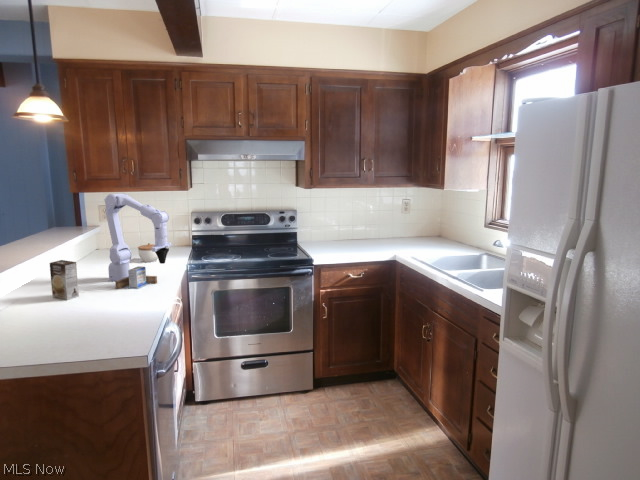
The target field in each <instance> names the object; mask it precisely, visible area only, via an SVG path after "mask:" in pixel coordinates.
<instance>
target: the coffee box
mask: <svg viewBox="0 0 640 480" xmlns="http://www.w3.org/2000/svg"><path fill="white" fill-rule="evenodd" d="M49 271H50V284H51V293H52V294H51V295H52V296H51V297H52V298H53V299H58V300H65V301H70V300H72V299H76V298H78V297H80V295H79V285H78V284H79V283H78V282H79V281H78V269H77V261H71V260H64V259H60V260H57V261H51V262H49Z"/></svg>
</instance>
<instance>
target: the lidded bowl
mask: <svg viewBox="0 0 640 480" xmlns="http://www.w3.org/2000/svg"><path fill="white" fill-rule="evenodd" d="M154 246H155V244H151V243H150V242H149V243H147V244H142V245H139V246H137V250H138V256H139V257H140V260H142V261H143V262H144V263H153V262H154V261H155V262H157V260H159V259H158V256H157V254H156V253H155V252H152V247H154Z"/></svg>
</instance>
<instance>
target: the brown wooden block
mask: <svg viewBox="0 0 640 480" xmlns="http://www.w3.org/2000/svg"><path fill="white" fill-rule="evenodd" d="M146 283H150V284H151V285H153V284H154V285H157V284H158V276H157V275H146ZM128 286H129V276H128V277H126V278H123V279H121V280H119V281H115V289H116V290H120V289H122V288H124V287H128Z"/></svg>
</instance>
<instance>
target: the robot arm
mask: <svg viewBox="0 0 640 480" xmlns="http://www.w3.org/2000/svg"><path fill="white" fill-rule="evenodd" d="M104 204H105V208H104V211H105V212H104V213H105V217H106V221H107V225H108V229H109V230H108V231H109V234H110V238H111V243H112V245H111V247H110V248H109V260H110V263H109V264H108V281H112V282H116V281H119V280H121V279H123V278H126V277H128V276H129V274H128V270H130V262H131V259H132V257H133V252H132V251H131V249H130V246H129V245H128V244H127V243H125V240H124V235H123V230H122V225H121V221H120V217H119V212H120V210H121V209H123V208H124V207H126V206H128V207H131V208H132V209H134V210H137V211H139V212H140V215H142V216H144V217H145V218H147V219H149V220H150V221H151V222H152V224H153V227H154V245H155V246H154V247H152V252H155V253H156V254H157V256H158V259H157V260H158V263H159V264H162V265H163V264H164V265H165V263H166V260H167V255H168V253H169V250H170V247H171V246H172V243H171V242H169V241H168V228H167V227H168V225H167V224H168V221H169V220H170V217H169V214H168V212H166V211H165V210H161V211H160V209H158V208H155V207H153V206H152V205H151V204H142V203H141V202H139V201H137V200H136V199H135V198H133V197H131V196H130V195H129V194H126V193H125V192H121V193H109V194H108V195H107V196H106V197H105V198H104Z"/></svg>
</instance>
